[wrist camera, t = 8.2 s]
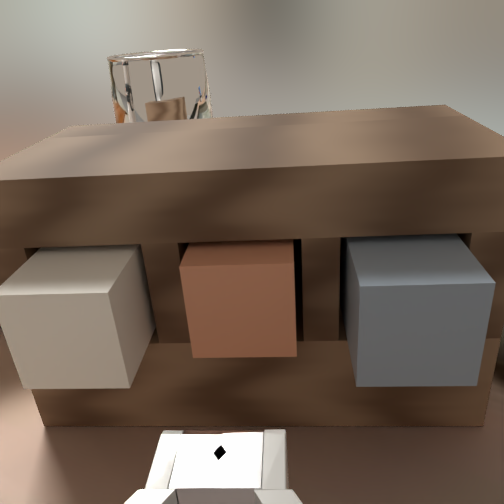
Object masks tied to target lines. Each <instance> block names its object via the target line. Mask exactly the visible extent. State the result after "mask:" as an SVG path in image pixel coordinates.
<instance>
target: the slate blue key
mask: <svg viewBox="0 0 504 504" xmlns="http://www.w3.org/2000/svg"><path fill="white" fill-rule="evenodd" d="M495 284H496V283H495V281H494V280H493V279H492V278H491V276H490V275H489V274H488V273H487V271H486V270H485V269H484V268H483V266H482V265H481V264H480V263H479V261H478V260H477V259H476V258H475V256H474V255H473V254H472V252H471V251H470V250H469V249H468V247H467V246H466V245H465V244H464V242H463V241H462V240H461V239H460V237H459V236H458V235H457V234H456V233H452V234H423V235H393V236H364V237H340V287H339V300H340V305H341V310H342V315H343V320H344V326H345V331H346V336H347V341H348V346H349V352H350V357H351V362H352V367H353V372H354V378H355V383H356V387H397V386H477V382H478V376H479V371H480V366H481V360H482V355H483V349H484V344H485V338H486V333H487V328H488V322H489V317H490V311H491V306H492V300H493V295H494V290H495Z"/></svg>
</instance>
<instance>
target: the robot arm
mask: <svg viewBox="0 0 504 504" xmlns="http://www.w3.org/2000/svg"><path fill="white" fill-rule="evenodd" d="M124 504H303V503H302V502H301V500H300V499H299V498H298V496H297V495H296V493H295V492H294V491H293V490H292V489H289V480H288V460H287V441H286V430H285V429H274V430H224V431H203V430H184V431H183V430H164V431H163V432H162V434H161V435H160V438H159V442H158V445H157V448H156V452H155V455H154V459H153V462H152V465H151V469H150V472H149V476H148V479H147V482H146V486H145V489H138V490H137V491H136V492H135V493H134V494H133V495H132V496H131V497H130V498H129V499H128V500H127V501H126V502H125V503H124Z"/></svg>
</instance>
